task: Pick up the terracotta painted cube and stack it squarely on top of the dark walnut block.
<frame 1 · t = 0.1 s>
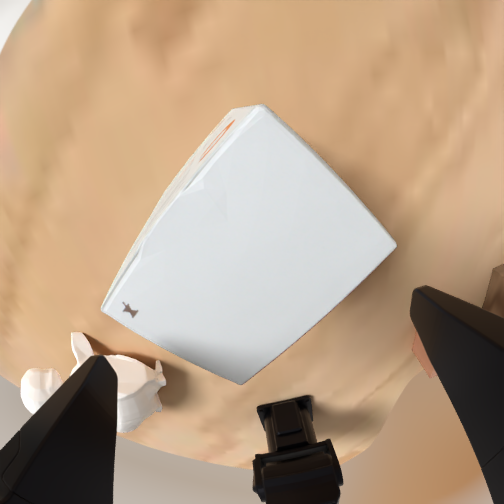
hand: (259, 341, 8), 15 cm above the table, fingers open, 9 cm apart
small box: (231, 178, 20), on the table
terracotta cube: (431, 328, 30), on the table
white animal figurine: (101, 362, 28), on the table
walnut block: (502, 285, 29), on the table
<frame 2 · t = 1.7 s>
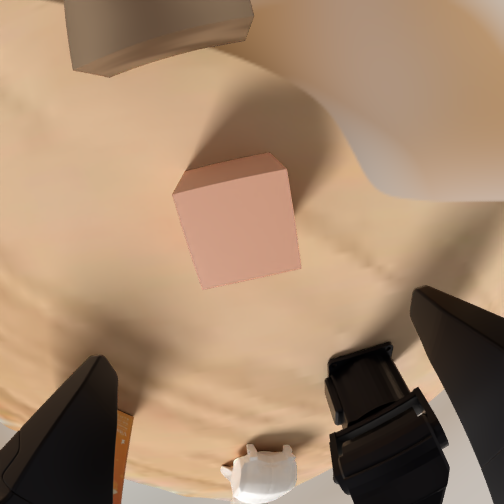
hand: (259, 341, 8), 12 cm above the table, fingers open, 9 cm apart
small box: (94, 408, 27), on the table
terracotta cube: (235, 200, 18), on the table
white animal figurine: (253, 460, 35), on the table
walnut block: (163, 0, 12), on the table
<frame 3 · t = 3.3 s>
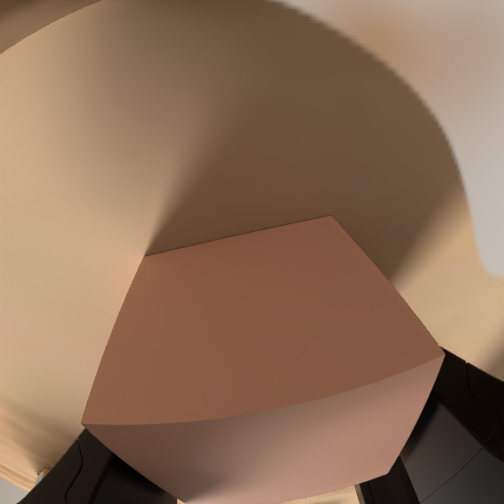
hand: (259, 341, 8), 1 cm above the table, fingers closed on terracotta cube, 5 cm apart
terracotta cube: (254, 312, 9), on the table, touching gripper
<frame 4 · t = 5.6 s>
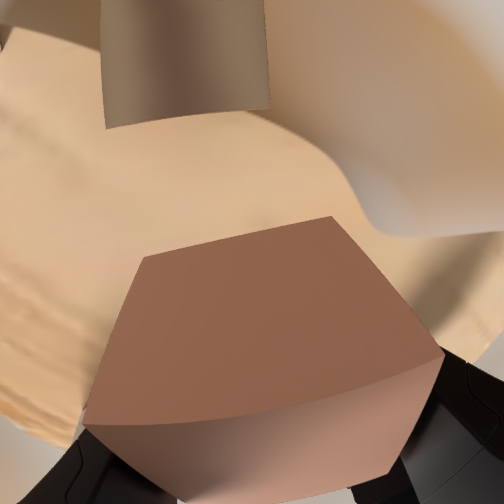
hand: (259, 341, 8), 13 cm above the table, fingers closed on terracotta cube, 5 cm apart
terracotta cube: (254, 312, 9), point 12 cm above the table, touching gripper
walnut block: (191, 56, 15), on the table
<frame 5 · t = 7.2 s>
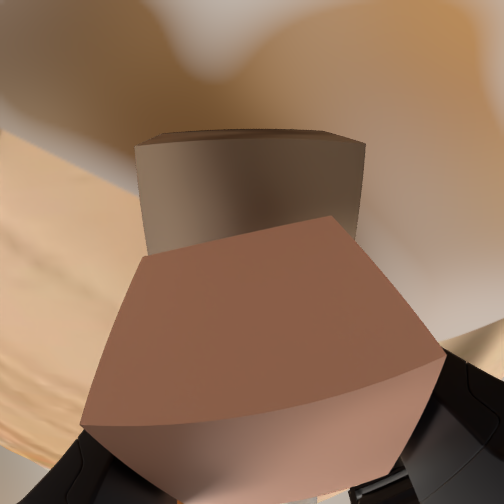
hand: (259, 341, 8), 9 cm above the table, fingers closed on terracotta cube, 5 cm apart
terracotta cube: (254, 312, 9), point 8 cm above the table, touching gripper
white animal figurine: (278, 491, 39), on the table
walnut block: (244, 205, 16), on the table
when the fingers open (8 cm above the table, at t = 8.3 s): terracotta cube drops 2 cm, resting on walnut block.
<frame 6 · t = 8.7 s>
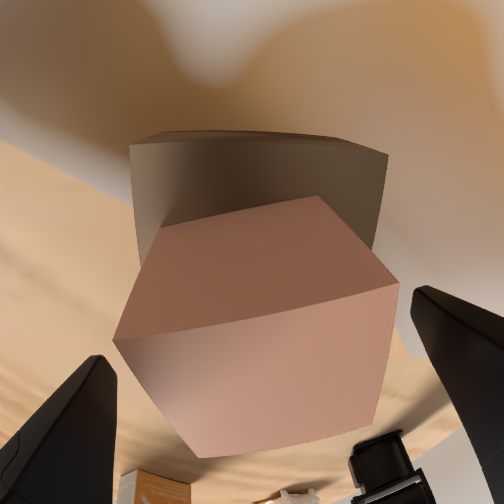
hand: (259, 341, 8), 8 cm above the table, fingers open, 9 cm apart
small box: (154, 480, 30), on the table
terracotta cube: (252, 279, 10), point 5 cm above the table, touching walnut block
white animal figurine: (278, 498, 37), on the table
walnut block: (247, 214, 14), on the table, touching terracotta cube
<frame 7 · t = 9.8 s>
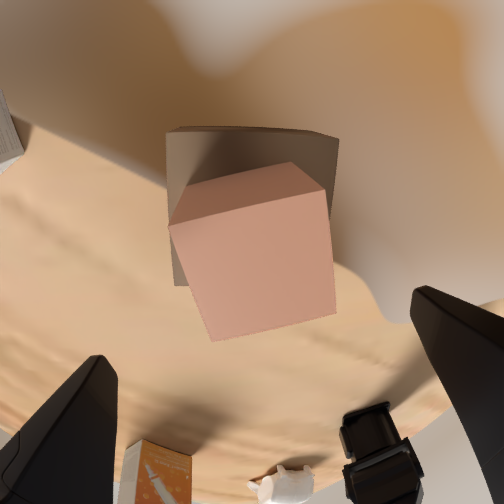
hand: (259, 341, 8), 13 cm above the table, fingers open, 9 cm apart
small box: (157, 452, 34), on the table
skincare box: (0, 134, 15), on the table
terracotta cube: (249, 221, 15), point 5 cm above the table, touching walnut block
white animal figurine: (275, 476, 41), on the table
walnut block: (244, 188, 19), on the table, touching terracotta cube
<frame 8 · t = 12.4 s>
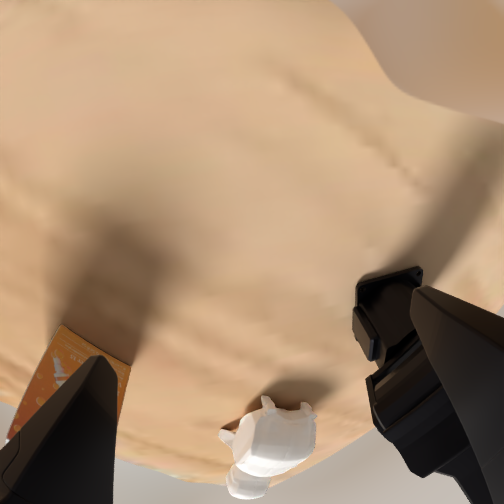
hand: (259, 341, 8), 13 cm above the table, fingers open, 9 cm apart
small box: (86, 359, 25), on the table
white animal figurine: (259, 424, 32), on the table
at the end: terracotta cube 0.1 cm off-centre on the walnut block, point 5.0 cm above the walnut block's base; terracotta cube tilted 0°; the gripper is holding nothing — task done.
